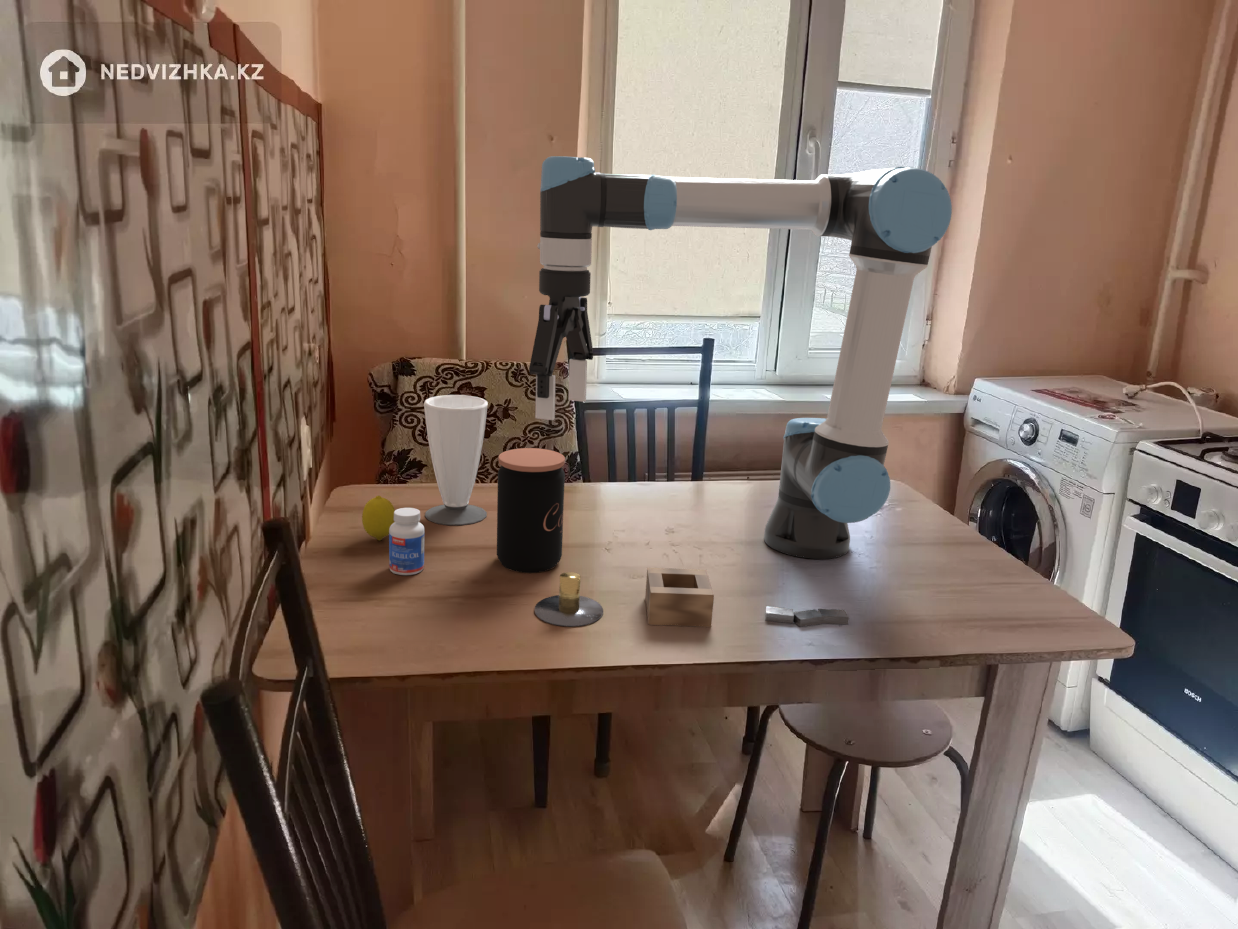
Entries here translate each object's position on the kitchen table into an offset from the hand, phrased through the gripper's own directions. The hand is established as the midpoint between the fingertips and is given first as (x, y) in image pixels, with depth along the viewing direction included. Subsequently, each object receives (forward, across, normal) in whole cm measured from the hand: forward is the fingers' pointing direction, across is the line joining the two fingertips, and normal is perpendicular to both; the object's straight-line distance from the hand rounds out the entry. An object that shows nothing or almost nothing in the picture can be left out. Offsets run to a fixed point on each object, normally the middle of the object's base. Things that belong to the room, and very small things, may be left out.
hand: (561, 409), depth 140 cm
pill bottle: (+27, +9, -22) cm, 36 cm away
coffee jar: (+27, -2, -6) cm, 28 cm away
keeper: (+27, +13, +7) cm, 31 cm away
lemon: (+27, 0, -33) cm, 42 cm away
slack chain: (+27, +1, +40) cm, 48 cm away
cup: (+27, -17, -27) cm, 41 cm away
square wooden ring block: (+27, +7, +22) cm, 35 cm away
